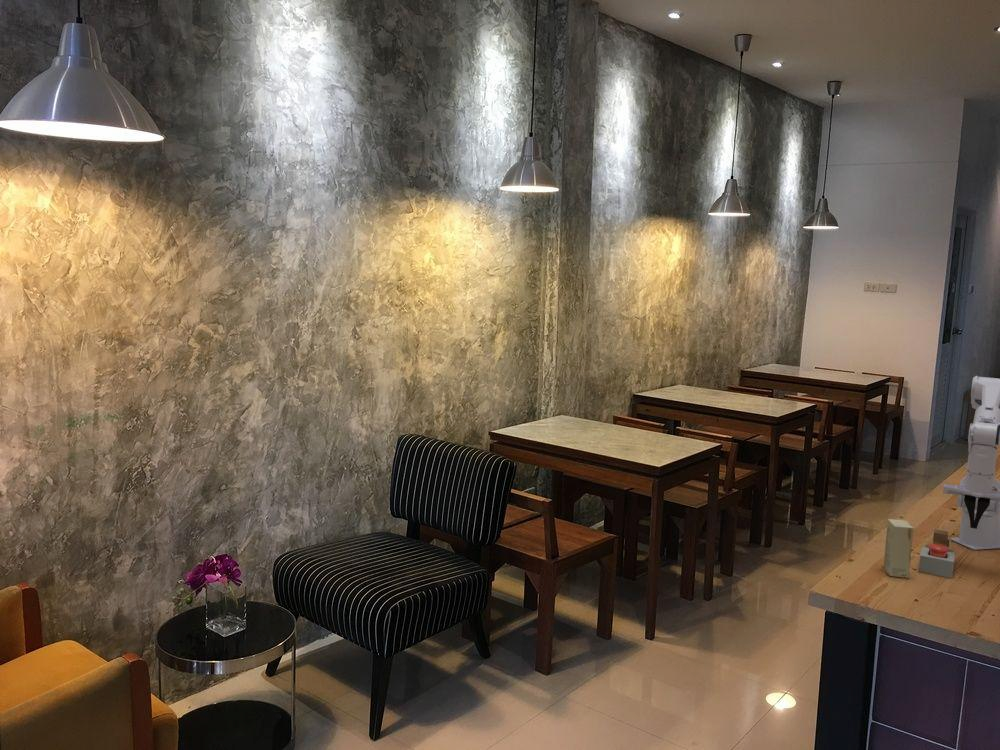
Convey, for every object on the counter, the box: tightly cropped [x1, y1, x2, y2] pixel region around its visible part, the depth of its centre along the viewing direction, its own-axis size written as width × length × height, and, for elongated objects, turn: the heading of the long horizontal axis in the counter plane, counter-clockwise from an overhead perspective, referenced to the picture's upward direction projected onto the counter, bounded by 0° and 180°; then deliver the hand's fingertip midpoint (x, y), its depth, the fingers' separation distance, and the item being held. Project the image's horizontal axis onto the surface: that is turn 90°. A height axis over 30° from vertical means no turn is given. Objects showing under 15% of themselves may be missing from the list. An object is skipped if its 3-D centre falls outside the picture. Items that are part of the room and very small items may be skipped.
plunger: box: [928, 542, 950, 558], centre depth 194 cm, size 4×4×5 cm
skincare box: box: [882, 518, 915, 579], centre depth 192 cm, size 6×4×12 cm
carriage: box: [925, 528, 954, 553], centre depth 200 cm, size 6×6×7 cm
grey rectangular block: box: [918, 546, 956, 579], centre depth 195 cm, size 7×7×4 cm
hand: (973, 527), depth 195 cm, fingers closed
